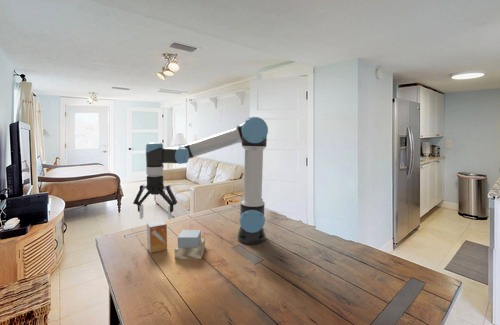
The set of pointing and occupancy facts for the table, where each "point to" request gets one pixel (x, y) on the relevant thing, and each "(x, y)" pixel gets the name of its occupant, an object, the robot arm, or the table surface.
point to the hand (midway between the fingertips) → (155, 218)
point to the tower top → (189, 239)
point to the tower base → (190, 251)
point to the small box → (157, 236)
